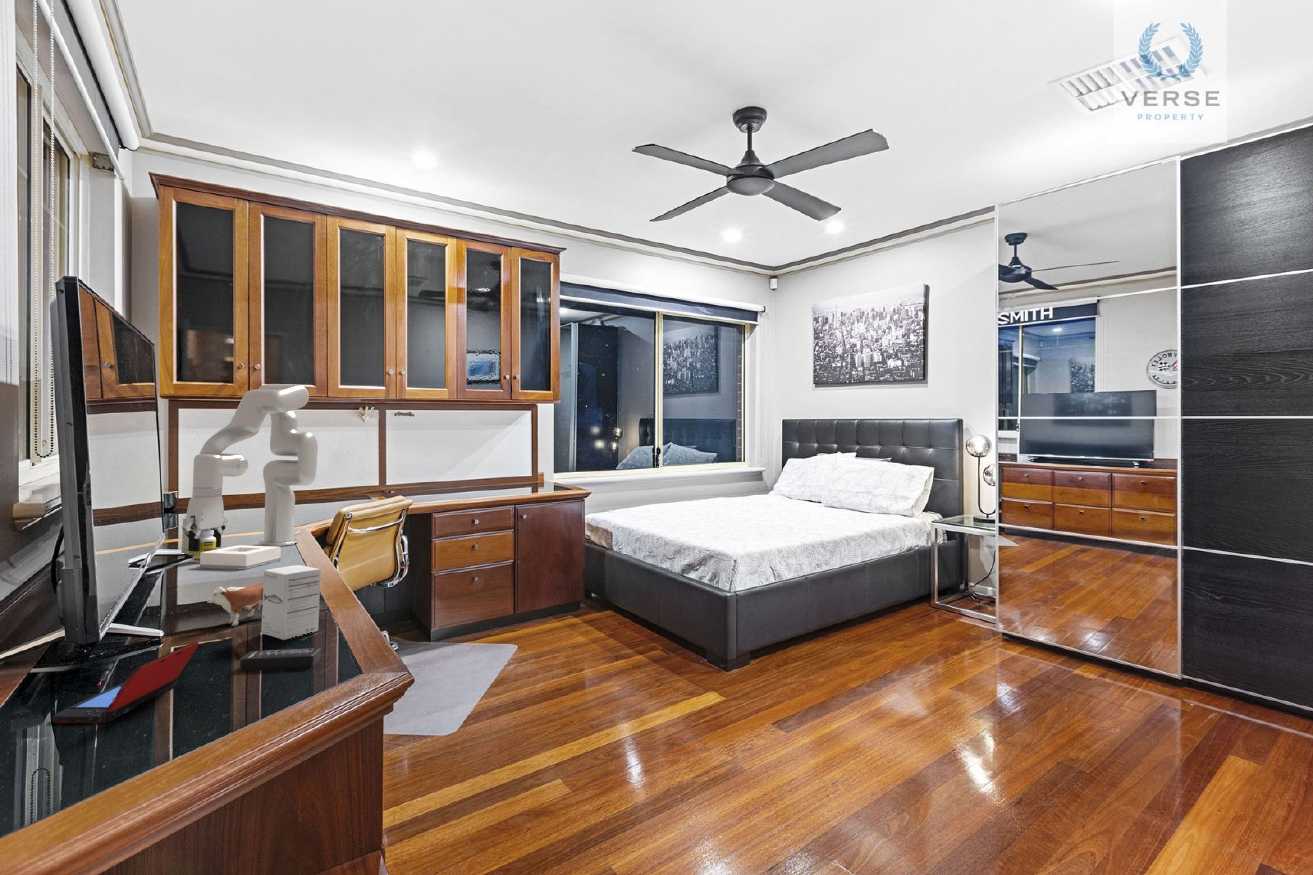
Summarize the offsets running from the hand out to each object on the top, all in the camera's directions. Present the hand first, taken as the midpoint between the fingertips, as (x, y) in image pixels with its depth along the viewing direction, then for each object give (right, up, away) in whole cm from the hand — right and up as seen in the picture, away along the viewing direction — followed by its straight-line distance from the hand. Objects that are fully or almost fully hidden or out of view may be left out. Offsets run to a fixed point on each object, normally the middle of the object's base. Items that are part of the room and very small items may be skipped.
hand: (204, 548), depth 189 cm
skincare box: (-13, -4, +13) cm, 19 cm away
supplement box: (+70, -4, -70) cm, 99 cm away
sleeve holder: (+14, -4, -3) cm, 15 cm away
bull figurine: (+55, -4, -63) cm, 84 cm away
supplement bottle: (0, -4, 0) cm, 4 cm away
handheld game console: (+68, -3, -104) cm, 124 cm away
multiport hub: (+79, -4, -88) cm, 118 cm away
